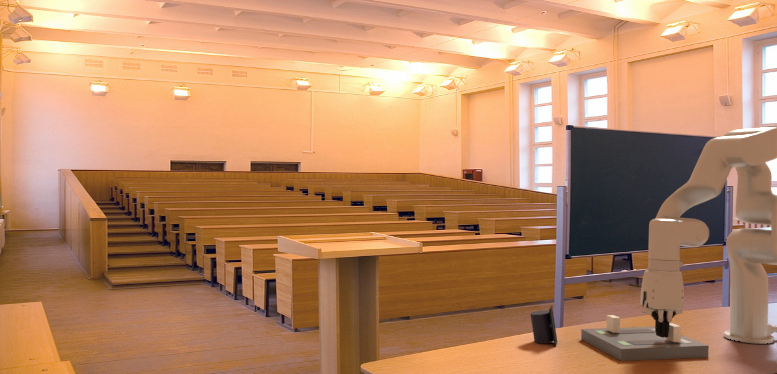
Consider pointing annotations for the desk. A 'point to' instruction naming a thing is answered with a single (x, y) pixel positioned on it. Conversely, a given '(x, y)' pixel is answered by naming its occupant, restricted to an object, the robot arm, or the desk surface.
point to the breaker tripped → (674, 333)
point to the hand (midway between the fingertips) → (662, 336)
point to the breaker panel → (642, 344)
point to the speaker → (544, 326)
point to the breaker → (613, 323)
